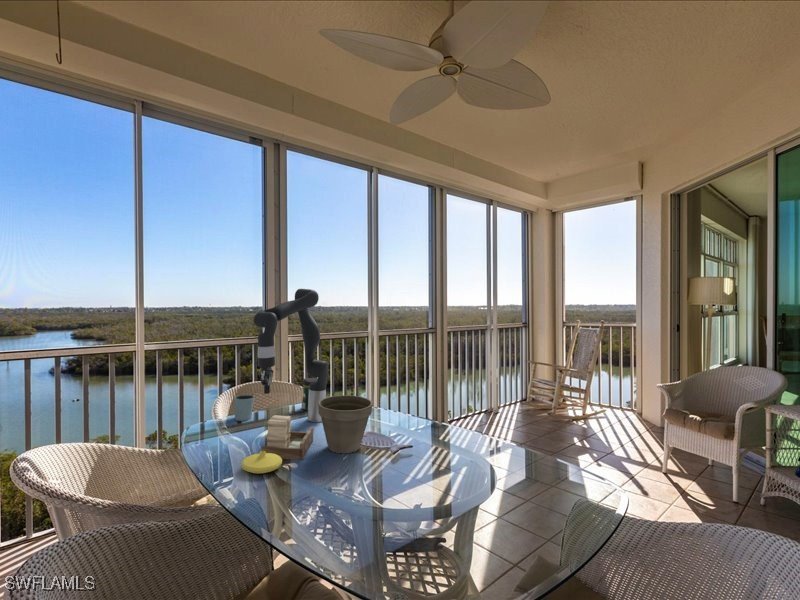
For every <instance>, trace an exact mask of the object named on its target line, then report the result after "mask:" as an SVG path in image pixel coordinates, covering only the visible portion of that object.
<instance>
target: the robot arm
mask: <svg viewBox="0 0 800 600" xmlns="http://www.w3.org/2000/svg"><path fill="white" fill-rule="evenodd" d="M319 297H320V296H319V293H318V292H317V291H316V290H314V289H309V288H298V289H296V291H295V292H294V299H293V300H287V301H284V302H281V303H280V304H278V305H275V306H274V307H271V308H267V309H264V310H261V311H258V312H257V313H255V315H254V316H253V323H254V325H255V326H256V327H258V328H264V331H263V332H260V333H258V336H257V367H259V368H261V371H260V376H259V380H260V383H261V385H262V386H263V389H264V390H263V393H264V394H266V395H268V394H270V393H271V384H272V382H273V376H274V370H273V369H272V367H274V366H275V365H276V349H275V333H276V331H277V326H278V322H279V321H282V320H284V319H285V318H287V317H289V316H292V315H294V314H296V313H298V317H299V322H300V328H301V335H302V340H303V341H302V342H303V347H304V354H305V366H306V367H305V368H306V372H307V374H308V376H310V377H312V378H317V379H318V380H317V382H314V383H311V384H310V385H309V401H308V410H307V421H308V422H311V423H322V419H321V416H320V415H319V409H318V403H319V401H320V400H322V399H324V398H327V397H326V396H327V395H326V394H327V384H328V375H329V363H328V362H327V361H326V360H325V361H324V360H320V359H319V360H318V359H316V349H317V348H318V346H319V344H320V341H321V333H320V332H321V331H320V328H319V327H320V326H319V325H318V324H317V322H316V320H315V319H314V318H313V316H312V315H311V313H310V311H309V308H313V307H315V306H316V305H317V304H318V303H319Z"/></svg>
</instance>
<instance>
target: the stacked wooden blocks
mask: <svg viewBox="0 0 800 600" xmlns="http://www.w3.org/2000/svg"><path fill="white" fill-rule="evenodd" d="M266 424H267V438H266V446H274V447H286V446H287V445H288V443H289V442H290V436H291V434H290V431H291V424H292V416H291V415H278V414H277V415H276V414H275V415H272V417H270V418H269V420H268V421H267V423H266Z"/></svg>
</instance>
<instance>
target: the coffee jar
mask: <svg viewBox="0 0 800 600" xmlns="http://www.w3.org/2000/svg"><path fill="white" fill-rule="evenodd" d="M317 380H318V377H309V378H308V377H307V378H303V379H302V389H303V391H302V400H301V409H302V410H304V411H308V401H309V385H310V384H311V383H314V382H317Z"/></svg>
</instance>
